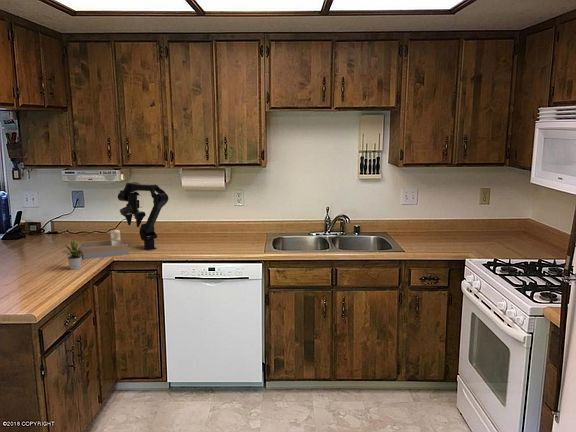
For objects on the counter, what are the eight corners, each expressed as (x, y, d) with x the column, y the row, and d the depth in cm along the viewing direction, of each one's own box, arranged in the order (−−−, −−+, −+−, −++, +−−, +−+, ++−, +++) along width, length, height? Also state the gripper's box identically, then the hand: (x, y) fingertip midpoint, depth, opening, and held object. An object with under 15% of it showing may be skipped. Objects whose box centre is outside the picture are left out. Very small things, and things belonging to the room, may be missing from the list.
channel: (124, 247, 309) (123, 238, 308) (128, 254, 294) (128, 244, 292) (81, 251, 298) (80, 242, 297) (83, 258, 282) (83, 248, 281)
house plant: (55, 267, 264) (53, 238, 261) (81, 263, 274) (79, 234, 271) (65, 273, 254) (63, 242, 251) (91, 268, 264) (89, 238, 261)
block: (119, 245, 302) (118, 229, 300) (120, 247, 297) (120, 231, 295) (111, 246, 299) (110, 230, 298) (112, 248, 295) (111, 232, 293)
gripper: (112, 202, 308) (114, 226, 311) (130, 205, 297) (131, 230, 300) (128, 200, 317) (129, 223, 320) (145, 203, 306) (146, 227, 308)
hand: (133, 226), depth 312 cm, fingers open, 9 cm apart
